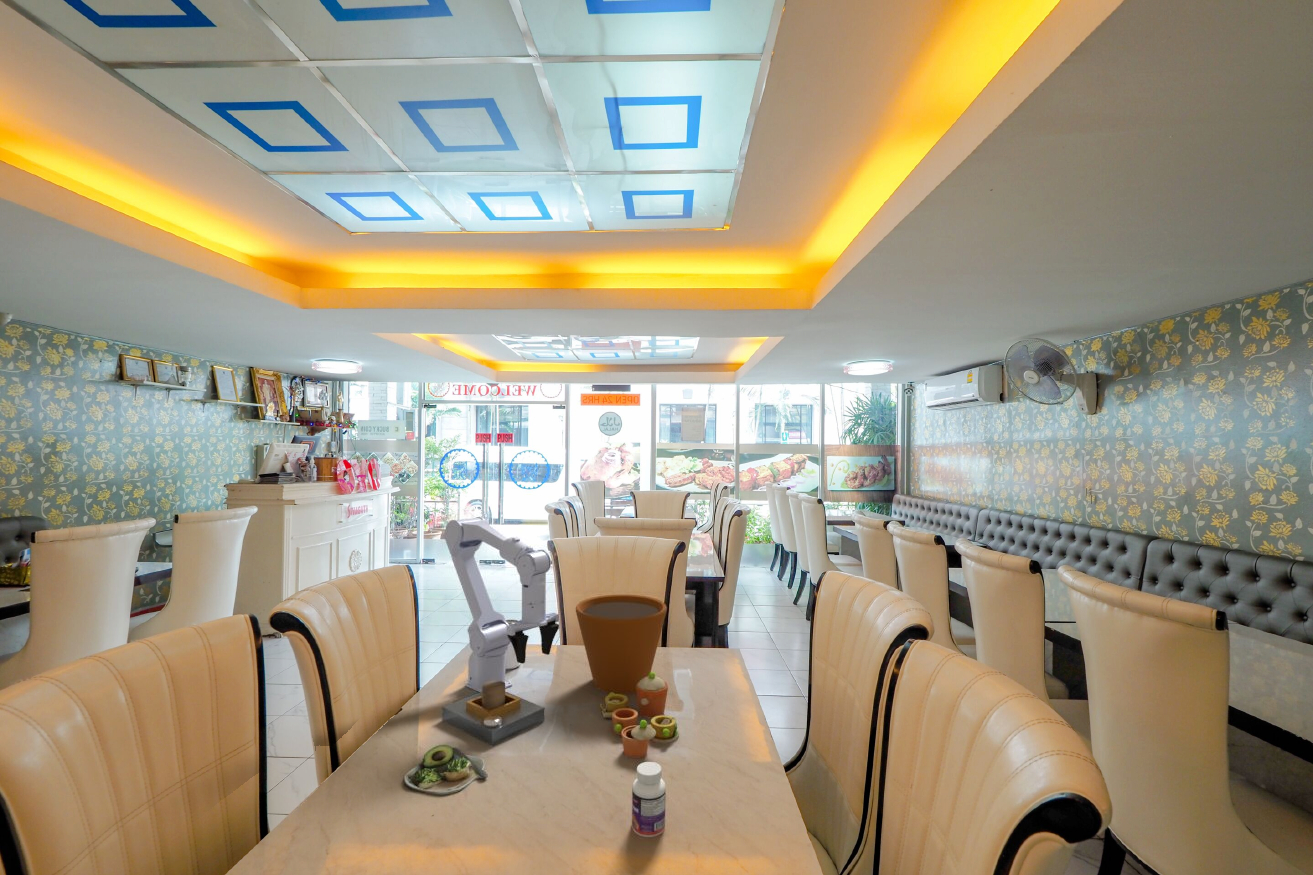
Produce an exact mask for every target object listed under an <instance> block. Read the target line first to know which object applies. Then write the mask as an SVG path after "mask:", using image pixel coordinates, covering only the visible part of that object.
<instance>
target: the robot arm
mask: <svg viewBox="0 0 1313 875" xmlns="http://www.w3.org/2000/svg"><path fill="white" fill-rule="evenodd" d="M443 537H444V540H445V543H446V546H447V548H448V550H449V553H450V558H451V561H452V562H453V566H454V568H455V571H456V574H457V577H458V580H459V583H460V585H461V589H462V592H463V594H464V596H465V600H466V602H467V605H468V608H469V610H470V614H471V616H472V619H473V620H472V622H470V625H469V626H468V628H467V634H468V639H469V642H468V643H469V647H470V649H471V651H472V652H471V654H470V655H469V658H468V661H467V662H468V664H467V665H468V667H467V668H468V669H467V683H464V686H465V687H467V688H468V689H471V690H473V691H475V692H478V693H480V692H482V685H483V684H484V683H487V682H490V681H502V682H504V683H505V689H508V688H510V687H512V686H513V683H512V682H509V681H507V680H506V669H505V657H506V650H507V649H508V645H509V644H510V643H512V645H513V648H514V651H515V654H516V658H517V662H519V663H521V664H522V665H523V664H525V663H526V657H527V656H526V654H527V651H526V650H527V644H528V640H529V638H530V637H529V635H527V634H525V632H526V631H529V630H531V629H535V628H539V632H540V633H539V634H540V639H541V640H540V641H541V642H540V643H541V647H540V648H541V653H542V654H544V655H548V656H549V655H550V653H551V648H552V646H553V643H554V639H555V636H556V634H557V632H559V629H560V624H559V623H558V622H560V614H559V613H557V612H552V613H547V612H546V609H547V605H546V604H547V601H546V600H547V598H546V597H547V595H546V594H547V588H546V586H547V582H546V580H547V576H546V575H547V573H548V572H549V570H550V569H551V565H552V559H551V556H550V555H549V553H547V551H546V550H544V549H538V550H536V549H534V548H533V547H532V546H531V545H527V544H526V543H524V542H523V541H521V538H519V537H518V536H515V537H509V538H507V537H506V536H505V535H503V534H502V533H500V532H499V531H498V530H496V529H495V527H493V526H491V525H490V523H489V520H487V519H485V518H484V517H482V516H476V517H472V518H465V519H451V520H450V521H448V522H447V524H446V527H445V530H444V534H443ZM483 543H485V544H487V545H488V546H491V547H492V548H495V549H496V550H498V552H499V555H500V558H502V559H503V560H505V561H506V562H508V563H509V564H511V565H512V566H514V567H516V571H517V573H518V575H519V582H520V584H521V619H518V621H517V622H515V623H513V624H511V625H509V624H508V623H507V622H506V620H507V619H506V618H505V616H504V614H502V613H501V612H497V611H496V610H494V607H493V603H492V601H491V598H490V596H489V593H488V591H487V588H486V585H485V583H484V580H483V576H482V575H481V572H480V570H479V565H478V563H477V561H476V558H475V553H476V552H477V551H478V550H479V549H480V547H481V545H482V544H483Z"/></svg>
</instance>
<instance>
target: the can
mask: <svg viewBox="0 0 1313 875" xmlns="http://www.w3.org/2000/svg"><path fill="white" fill-rule="evenodd" d="M505 620H506V622H507V623H508V624H509V625H511V624H513V623H515V622H517V621H519V619H505ZM521 664H522V663H519V662H517V658H516V654H515V651H514V648H513V645H512V643H510V644H509V645H508V649H507V650H506V657H505V670H513V669H514V670H515V669H517V668H519V667H520V666H521Z"/></svg>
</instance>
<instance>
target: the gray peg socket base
mask: <svg viewBox="0 0 1313 875" xmlns="http://www.w3.org/2000/svg"><path fill="white" fill-rule="evenodd" d="M441 713H442V718H441V720H442V722H445V723H447V724H448V725H450V726H453V727H454V728H455V729H458V730H460V731H463V733H466V734H468V735H469V736H472V737H474V738H476V739H477V740H480V741H481V742H484V743H486V744H487V743H488V745H489V746H491V745H492V747H493V746H495V745H497V744H499V743H501V742H503V741H505V740H508V739H509V738H511V737H513V736H516V735H518V734H520V733H522V732H524V731H526V730H528V729H531V728H532V727H534V726H537V725H539V724H542V723H543V722H545V707H543V706H541V705H539V704H536V703H534V702H531V701H529V700H527V699H525V698H522V697H519V696H517V695H515V694H512V693H511V692H508V691H506V690H505V705H502V706H500V707H497V708H495V709H493V710H488V709H486V708H483V707H482V692H478V693H475V694H473V695H472V694H471V695H470V696H467V697H464V698H462V699H460V700H457V701H454V702H451V703H449V704H447V705H444V706H442V712H441Z"/></svg>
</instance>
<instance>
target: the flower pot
mask: <svg viewBox="0 0 1313 875" xmlns="http://www.w3.org/2000/svg"><path fill="white" fill-rule="evenodd" d="M667 609H668V607H667V605H666V603H665V602H663V601H662V600H660V599H658V598H654V597H650V596H645V595H636V594H607V595H600V596H594V597H589V598H586V599H584V600H582V601H580V602H579V603H577V605H576V607H575V613H576V618H577V621H578V622H577V623H578V625H579V629H580V633H581V637H582V641H583V645H584V649H585V654H586V658H587V661H588V665H589V669H590V672H591V677H592V681H593V682H592V683H593V685H594V686H595V687H596V688H597V689H598V688H599V689H598V690H600V689H601V690H600V691H602V690H603V692H605V693H609V694H610V693H611V692H613V693H614V694H615V693H616V694H622V695H630V694H635V693H636V694H637V691H636V685H637V683H638V682H639V681H640V680H642V679H643V678H645V677H647V676H649V673H650V672H652V668H653V665H654V660H655V656H656V654H657V649H658V645H659V642H660V637H661V633H662V630H663V626H664V624H665V618H666V615H667V611H668V610H667Z"/></svg>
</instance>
